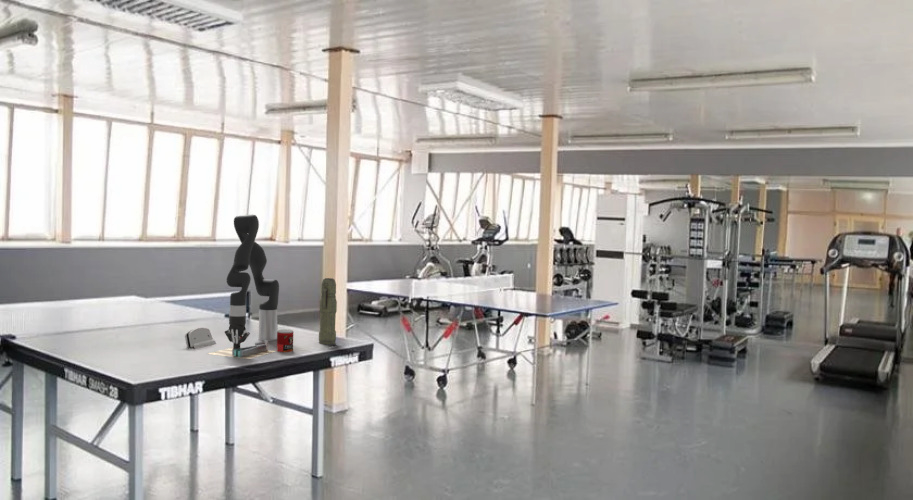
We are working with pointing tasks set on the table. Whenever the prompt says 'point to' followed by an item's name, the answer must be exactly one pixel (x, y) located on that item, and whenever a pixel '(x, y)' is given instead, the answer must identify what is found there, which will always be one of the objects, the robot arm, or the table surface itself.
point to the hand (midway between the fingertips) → (236, 351)
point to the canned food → (285, 340)
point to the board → (229, 353)
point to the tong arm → (244, 348)
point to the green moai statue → (328, 312)
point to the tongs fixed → (253, 350)
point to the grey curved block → (199, 338)
